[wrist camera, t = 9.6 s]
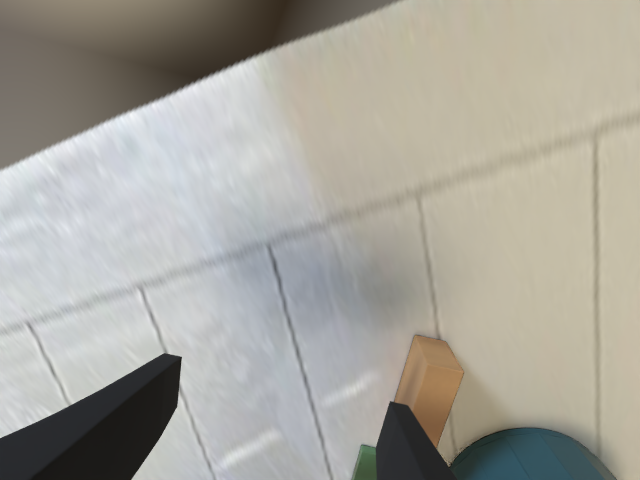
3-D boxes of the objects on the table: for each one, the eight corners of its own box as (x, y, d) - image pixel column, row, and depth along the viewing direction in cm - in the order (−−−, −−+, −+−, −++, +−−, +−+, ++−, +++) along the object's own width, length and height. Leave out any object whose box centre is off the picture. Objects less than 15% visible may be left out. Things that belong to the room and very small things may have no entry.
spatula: (405, 515, 24) (414, 565, 21) (344, 501, 25) (345, 550, 21) (466, 345, 21) (488, 377, 17) (394, 330, 21) (403, 359, 18)
